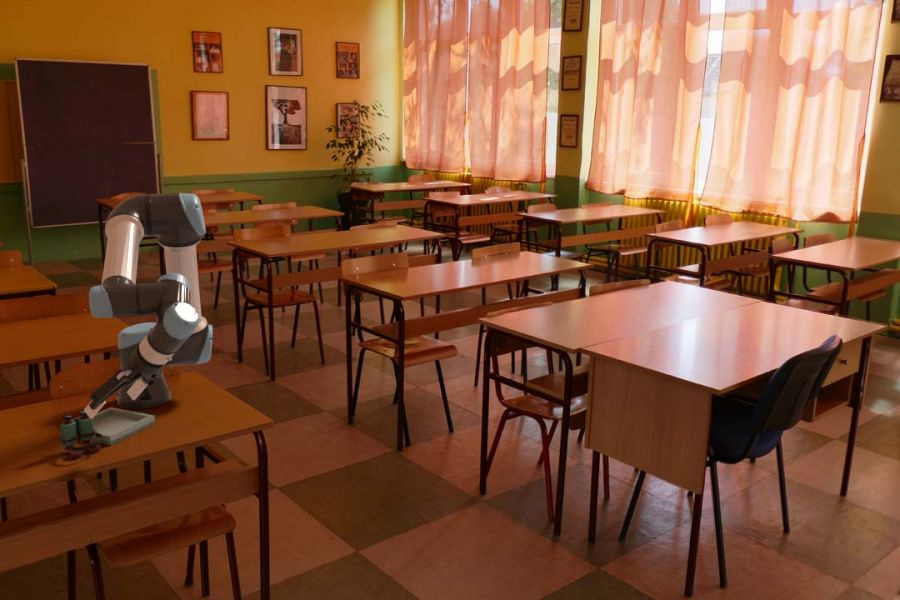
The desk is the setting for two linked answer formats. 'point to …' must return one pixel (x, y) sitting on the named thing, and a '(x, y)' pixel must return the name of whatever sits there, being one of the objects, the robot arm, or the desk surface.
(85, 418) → the binoculars
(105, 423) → the tray
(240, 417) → the desk surface
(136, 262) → the robot arm
